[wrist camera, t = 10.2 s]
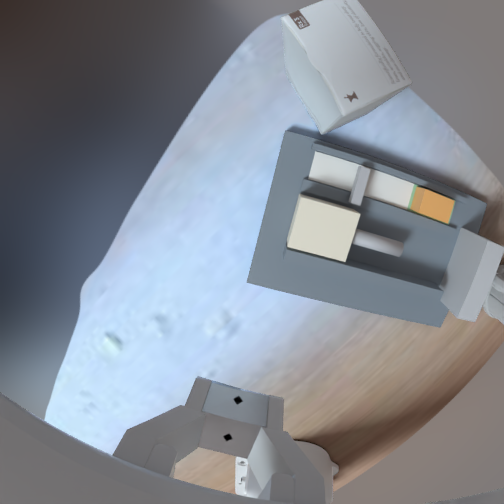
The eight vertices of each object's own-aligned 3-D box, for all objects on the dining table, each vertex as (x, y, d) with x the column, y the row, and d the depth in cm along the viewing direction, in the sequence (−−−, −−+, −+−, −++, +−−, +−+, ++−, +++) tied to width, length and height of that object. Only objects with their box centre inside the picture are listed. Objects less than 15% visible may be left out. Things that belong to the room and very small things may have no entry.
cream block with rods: (388, 266, 34) (396, 275, 31) (286, 239, 34) (287, 246, 31) (414, 185, 31) (425, 188, 28) (310, 151, 31) (313, 151, 28)
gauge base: (436, 323, 37) (459, 351, 30) (247, 278, 37) (240, 306, 30) (482, 202, 32) (515, 212, 25) (285, 131, 32) (286, 124, 25)
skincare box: (365, 114, 30) (421, 88, 16) (318, 137, 32) (346, 122, 18) (327, 50, 29) (355, -14, 15) (279, 71, 30) (278, 14, 16)
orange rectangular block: (438, 219, 32) (447, 223, 29) (410, 209, 32) (418, 212, 29) (444, 197, 31) (454, 200, 29) (416, 186, 31) (425, 188, 29)
